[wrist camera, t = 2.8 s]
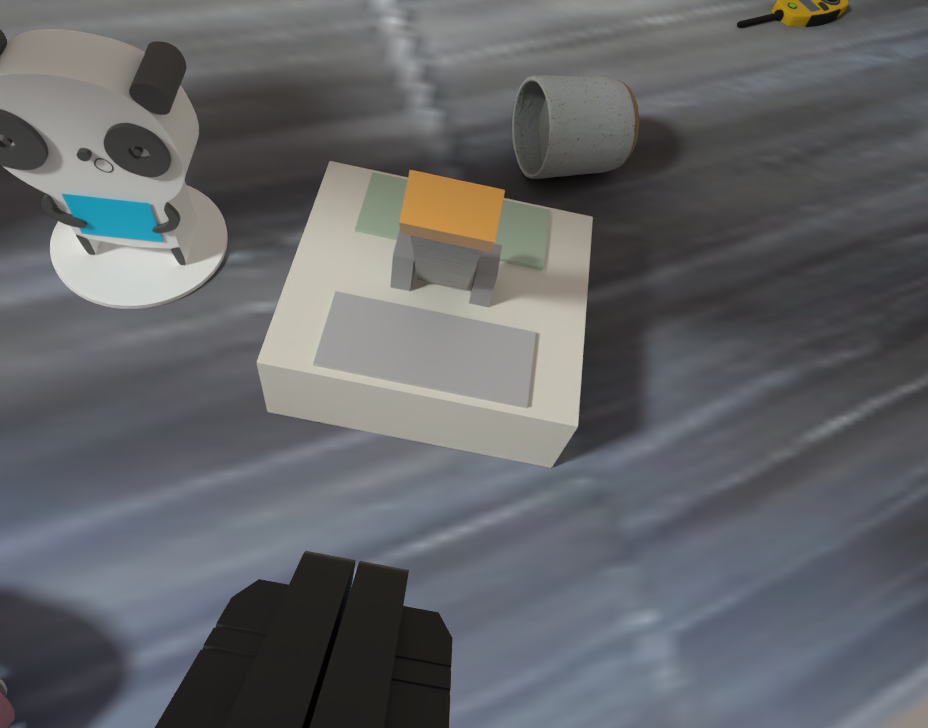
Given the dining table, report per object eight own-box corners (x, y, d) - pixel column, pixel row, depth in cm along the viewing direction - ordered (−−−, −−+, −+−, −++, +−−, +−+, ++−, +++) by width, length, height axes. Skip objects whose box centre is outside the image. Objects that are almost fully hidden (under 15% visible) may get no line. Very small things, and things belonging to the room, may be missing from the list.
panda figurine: (15, 297, 45) (-118, 104, 32) (73, 171, 51) (-20, -34, 38) (207, 317, 46) (152, 140, 33) (242, 192, 52) (207, 0, 39)
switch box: (551, 467, 44) (593, 401, 36) (267, 411, 43) (249, 332, 36) (569, 271, 52) (606, 184, 45) (331, 222, 52) (328, 124, 44)
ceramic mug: (624, 189, 58) (658, 112, 51) (532, 200, 56) (556, 121, 49) (578, 104, 63) (604, 24, 56) (492, 111, 61) (509, 29, 54)
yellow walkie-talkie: (859, 4, 75) (757, 28, 70) (849, 21, 77) (748, 45, 72) (829, -21, 77) (728, 0, 72) (819, -5, 79) (719, 17, 74)
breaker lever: (469, 295, 43) (494, 242, 26) (412, 283, 42) (399, 222, 26) (476, 263, 43) (505, 189, 26) (418, 251, 42) (409, 169, 26)
